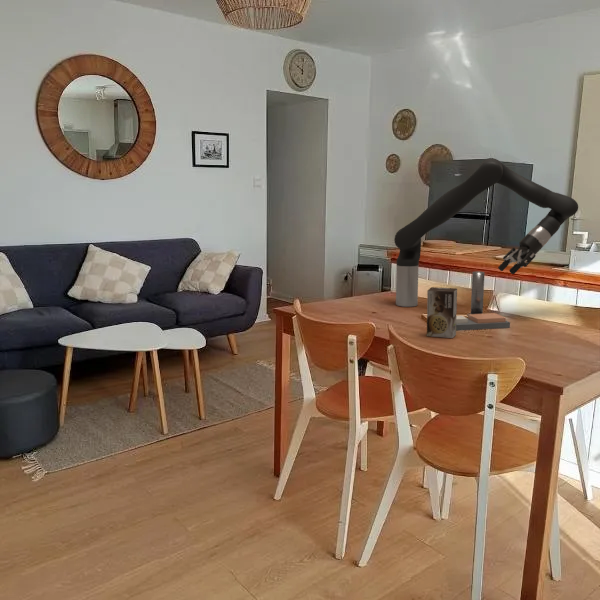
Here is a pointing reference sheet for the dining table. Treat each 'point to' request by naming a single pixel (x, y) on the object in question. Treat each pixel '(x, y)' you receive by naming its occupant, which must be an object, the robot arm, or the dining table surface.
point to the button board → (481, 325)
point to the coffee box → (441, 312)
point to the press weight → (477, 292)
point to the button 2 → (486, 318)
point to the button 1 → (461, 319)
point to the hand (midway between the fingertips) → (505, 271)
